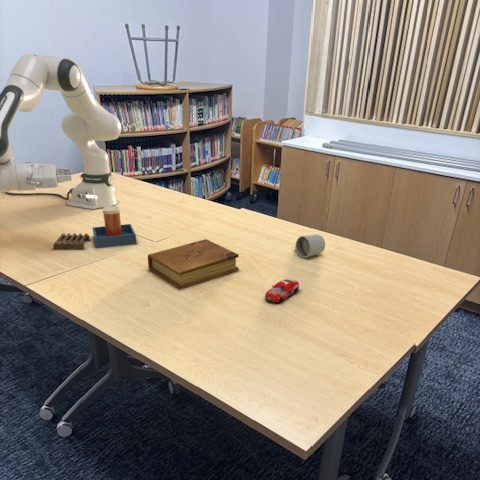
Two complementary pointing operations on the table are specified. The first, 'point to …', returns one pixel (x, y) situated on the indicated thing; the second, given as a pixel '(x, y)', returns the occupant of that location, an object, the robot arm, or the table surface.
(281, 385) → the table surface
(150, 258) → the diary
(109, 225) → the cup
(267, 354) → the table surface
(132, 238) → the tray
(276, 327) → the table surface
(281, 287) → the race car
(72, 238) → the drying rack
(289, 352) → the table surface
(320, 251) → the ceramic mug
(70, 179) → the robot arm
